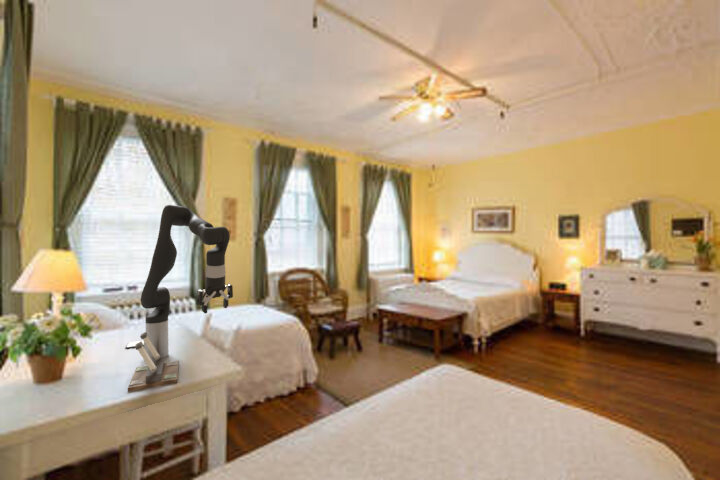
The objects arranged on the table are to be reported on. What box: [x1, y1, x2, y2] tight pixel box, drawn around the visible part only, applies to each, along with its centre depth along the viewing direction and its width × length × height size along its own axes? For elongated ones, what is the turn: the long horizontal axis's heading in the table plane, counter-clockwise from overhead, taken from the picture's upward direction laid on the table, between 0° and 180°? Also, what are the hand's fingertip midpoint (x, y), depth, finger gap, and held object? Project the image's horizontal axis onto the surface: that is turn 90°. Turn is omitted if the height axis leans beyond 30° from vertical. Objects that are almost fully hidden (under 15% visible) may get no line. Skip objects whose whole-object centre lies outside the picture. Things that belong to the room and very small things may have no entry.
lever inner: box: [139, 331, 160, 361], centre depth 137 cm, size 2×4×13 cm, turn 27°
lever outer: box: [134, 342, 157, 373], centre depth 124 cm, size 2×4×13 cm, turn 27°
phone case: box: [125, 340, 144, 350], centre depth 171 cm, size 9×2×16 cm
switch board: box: [127, 357, 180, 393], centre depth 132 cm, size 16×21×4 cm
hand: (215, 310), depth 136 cm, fingers open, 8 cm apart
